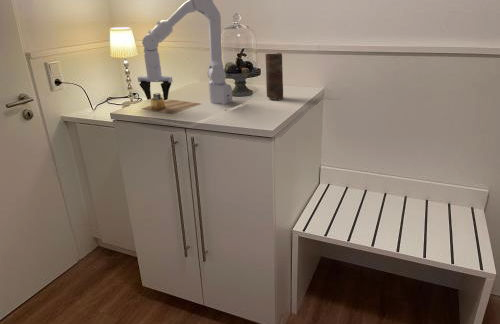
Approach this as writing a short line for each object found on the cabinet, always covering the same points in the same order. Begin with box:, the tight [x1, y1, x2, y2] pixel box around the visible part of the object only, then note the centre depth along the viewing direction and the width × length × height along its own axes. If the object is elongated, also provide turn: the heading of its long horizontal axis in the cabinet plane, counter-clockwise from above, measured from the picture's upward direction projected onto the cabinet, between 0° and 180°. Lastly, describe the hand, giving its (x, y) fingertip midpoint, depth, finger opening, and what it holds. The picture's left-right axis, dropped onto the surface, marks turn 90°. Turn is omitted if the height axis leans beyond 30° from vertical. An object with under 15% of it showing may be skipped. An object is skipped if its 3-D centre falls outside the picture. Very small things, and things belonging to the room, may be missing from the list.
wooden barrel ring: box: [150, 96, 166, 109], centre depth 156 cm, size 5×5×4 cm
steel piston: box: [152, 92, 162, 100], centre depth 156 cm, size 3×3×6 cm
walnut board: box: [140, 99, 201, 115], centre depth 158 cm, size 18×18×1 cm
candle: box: [265, 52, 284, 101], centre depth 164 cm, size 8×7×20 cm
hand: (157, 99), depth 156 cm, fingers open, 7 cm apart
